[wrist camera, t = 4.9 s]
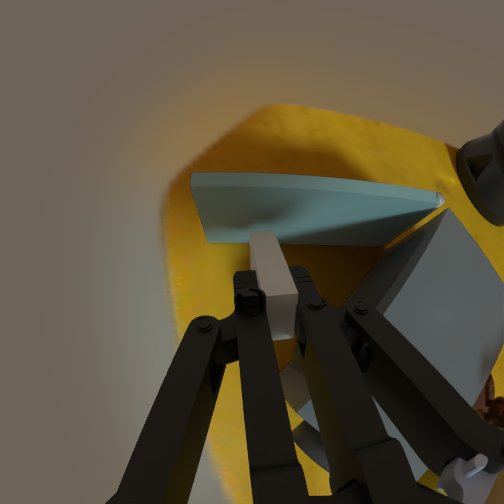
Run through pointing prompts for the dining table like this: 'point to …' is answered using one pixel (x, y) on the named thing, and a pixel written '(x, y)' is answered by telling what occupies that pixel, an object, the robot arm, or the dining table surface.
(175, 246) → the dining table surface
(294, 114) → the dining table surface
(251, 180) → the side door
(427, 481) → the lemon
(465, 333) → the case
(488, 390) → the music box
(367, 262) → the dining table surface
